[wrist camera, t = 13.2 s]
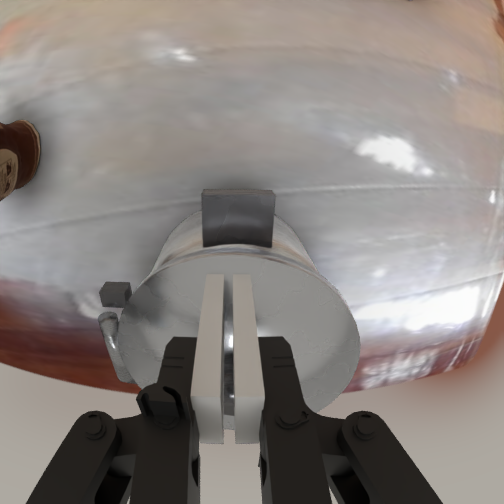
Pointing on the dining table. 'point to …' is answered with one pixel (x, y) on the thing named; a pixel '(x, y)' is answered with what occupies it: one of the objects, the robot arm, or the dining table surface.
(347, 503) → the robot arm
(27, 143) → the coffee cup
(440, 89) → the dining table surface
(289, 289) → the lid
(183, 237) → the pot
